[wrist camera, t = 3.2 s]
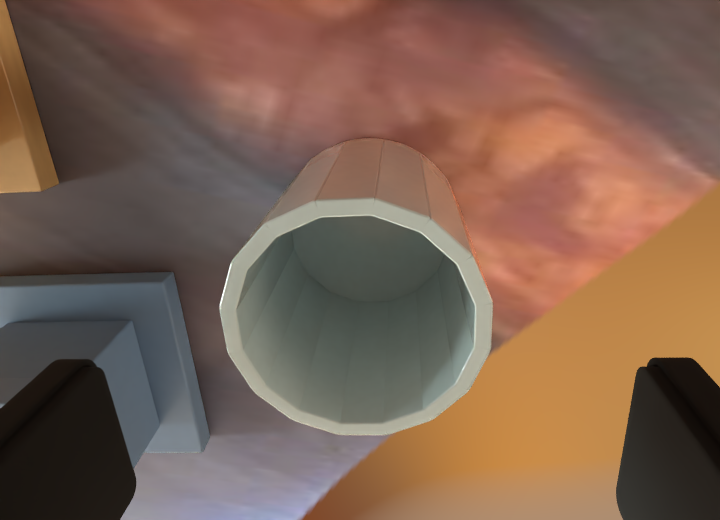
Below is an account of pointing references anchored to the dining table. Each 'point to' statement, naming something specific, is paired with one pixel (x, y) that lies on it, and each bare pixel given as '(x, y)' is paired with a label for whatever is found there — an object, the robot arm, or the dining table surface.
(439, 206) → the container
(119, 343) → the blue stand
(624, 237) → the dining table surface
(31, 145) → the maple stand
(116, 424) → the robot arm
